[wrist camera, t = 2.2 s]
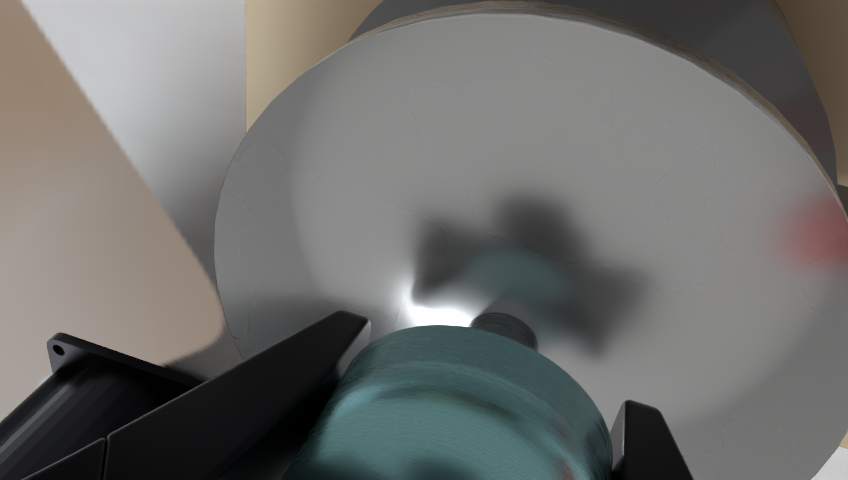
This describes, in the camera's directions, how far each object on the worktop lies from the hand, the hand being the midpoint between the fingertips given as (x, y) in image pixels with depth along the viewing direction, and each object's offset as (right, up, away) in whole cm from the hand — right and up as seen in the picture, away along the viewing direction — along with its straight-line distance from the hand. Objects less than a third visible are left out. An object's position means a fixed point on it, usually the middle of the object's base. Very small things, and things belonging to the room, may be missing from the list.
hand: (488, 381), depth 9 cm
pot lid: (0, +1, +1) cm, 1 cm away
